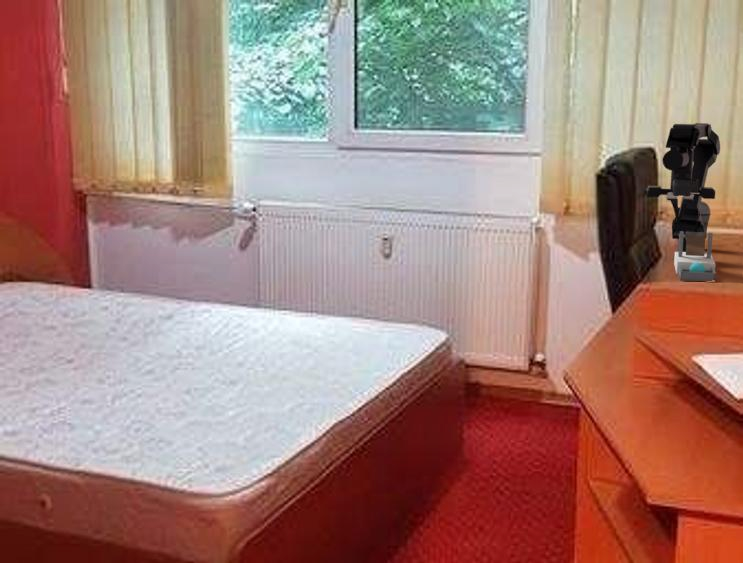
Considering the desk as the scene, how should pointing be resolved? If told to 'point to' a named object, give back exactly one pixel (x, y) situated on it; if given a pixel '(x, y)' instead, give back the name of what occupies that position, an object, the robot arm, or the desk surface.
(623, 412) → the desk surface
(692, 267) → the ball
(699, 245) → the lever
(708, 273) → the tray
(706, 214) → the beverage cup
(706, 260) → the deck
